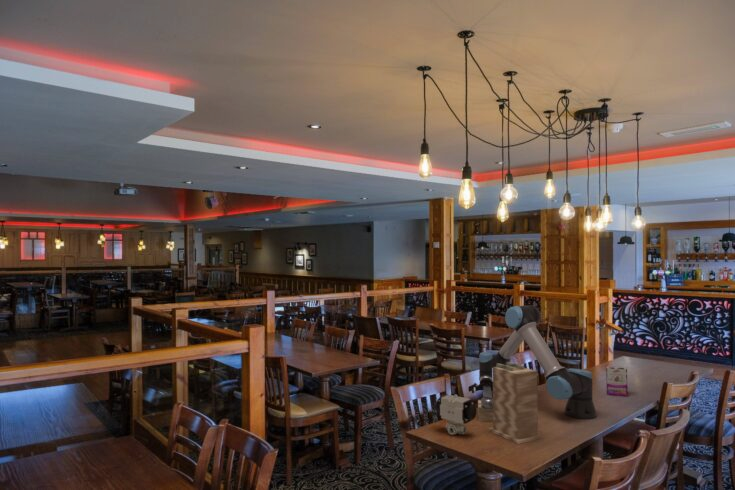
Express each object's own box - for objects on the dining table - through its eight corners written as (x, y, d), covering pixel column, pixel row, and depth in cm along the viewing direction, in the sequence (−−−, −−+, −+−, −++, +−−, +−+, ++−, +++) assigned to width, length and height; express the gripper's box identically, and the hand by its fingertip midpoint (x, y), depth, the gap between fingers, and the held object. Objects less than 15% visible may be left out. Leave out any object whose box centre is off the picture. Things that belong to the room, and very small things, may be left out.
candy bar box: (626, 394, 297) (626, 366, 298) (627, 396, 293) (627, 368, 293) (606, 392, 302) (605, 365, 302) (606, 394, 297) (606, 367, 297)
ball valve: (434, 431, 237) (433, 393, 237) (443, 426, 243) (443, 389, 244) (468, 440, 225) (467, 400, 226) (477, 435, 232) (476, 396, 232)
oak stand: (488, 430, 237) (488, 363, 238) (512, 425, 244) (511, 360, 245) (518, 444, 221) (517, 371, 221) (542, 437, 228) (542, 368, 228)
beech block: (478, 412, 265) (478, 399, 266) (497, 413, 263) (497, 400, 264) (478, 420, 252) (478, 407, 252) (499, 421, 250) (499, 408, 250)
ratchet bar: (480, 393, 277) (480, 386, 277) (493, 394, 276) (493, 386, 276) (481, 408, 250) (481, 400, 251) (495, 409, 249) (495, 401, 249)
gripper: (508, 391, 286) (511, 402, 265) (464, 389, 291) (463, 399, 270) (508, 378, 286) (511, 387, 265) (464, 376, 291) (463, 385, 270)
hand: (487, 393), depth 267 cm, fingers open, 13 cm apart
